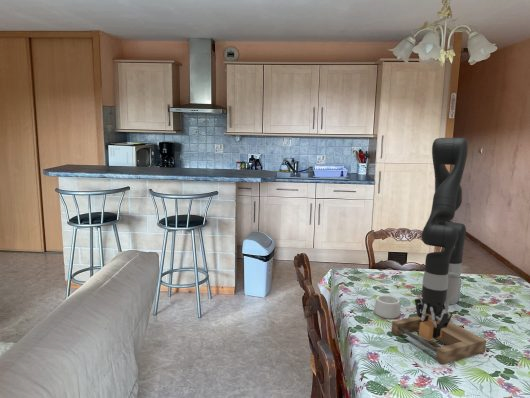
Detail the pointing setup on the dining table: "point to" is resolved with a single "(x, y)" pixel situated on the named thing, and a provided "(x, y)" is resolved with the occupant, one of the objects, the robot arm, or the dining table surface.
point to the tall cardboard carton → (427, 330)
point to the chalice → (451, 288)
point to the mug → (387, 306)
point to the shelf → (444, 339)
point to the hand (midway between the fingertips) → (430, 334)
